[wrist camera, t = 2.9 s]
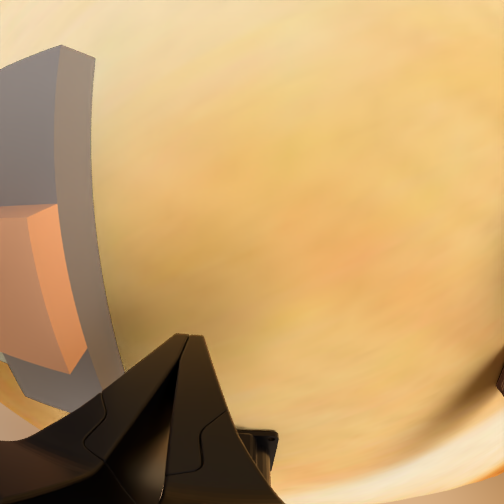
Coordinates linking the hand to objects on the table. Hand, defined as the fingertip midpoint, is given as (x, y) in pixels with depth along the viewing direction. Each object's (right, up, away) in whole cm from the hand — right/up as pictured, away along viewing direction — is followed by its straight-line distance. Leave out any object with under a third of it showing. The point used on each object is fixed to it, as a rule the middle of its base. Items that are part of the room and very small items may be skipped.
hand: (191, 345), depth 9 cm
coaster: (-10, +2, +3) cm, 10 cm away
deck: (-10, +3, +5) cm, 12 cm away
